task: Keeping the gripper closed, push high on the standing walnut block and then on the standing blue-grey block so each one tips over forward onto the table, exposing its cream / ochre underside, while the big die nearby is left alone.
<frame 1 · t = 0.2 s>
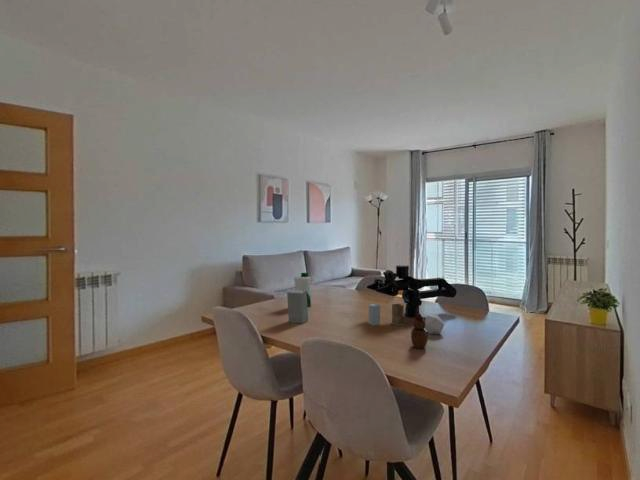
hand: (371, 288, 175), 16 cm above the table, tool horizontal, fingers open, 9 cm apart
walnut block: (397, 323, 169), on the table
die: (433, 333, 155), on the table
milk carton: (302, 307, 205), on the table
skincare box: (297, 322, 174), on the table
wooden figurine: (418, 347, 138), on the table
blue-grey block: (374, 324, 169), on the table
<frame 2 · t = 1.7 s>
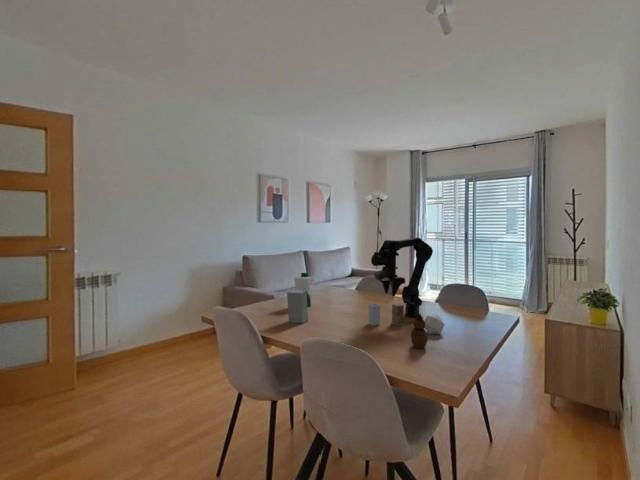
hand: (389, 295, 175), 13 cm above the table, tool pointing down, fingers open, 6 cm apart
nothing on the table moved.
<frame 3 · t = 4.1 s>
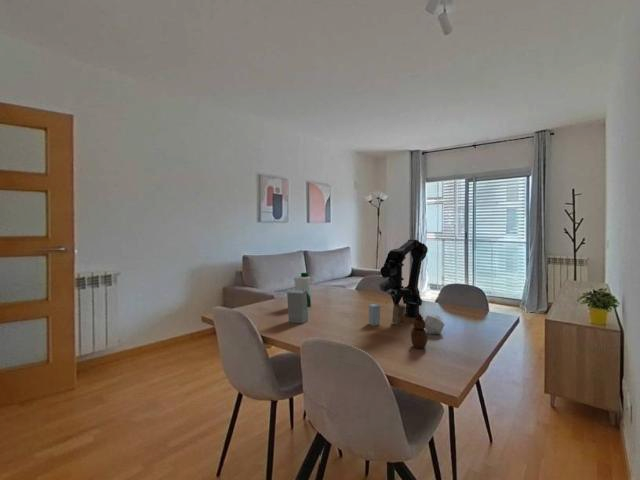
hand: (395, 306, 171), 8 cm above the table, tool pointing down, fingers closed
walnut block: (397, 323, 169), on the table, tilted 9°
everything else where it was.
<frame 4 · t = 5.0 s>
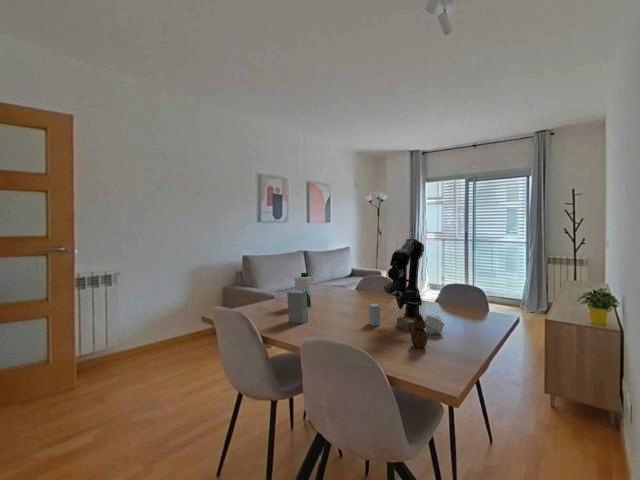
hand: (400, 308, 167), 8 cm above the table, tool pointing down, fingers closed
walnut block: (400, 321, 167), point 2 cm above the table, tilted 90°
everything else where it was.
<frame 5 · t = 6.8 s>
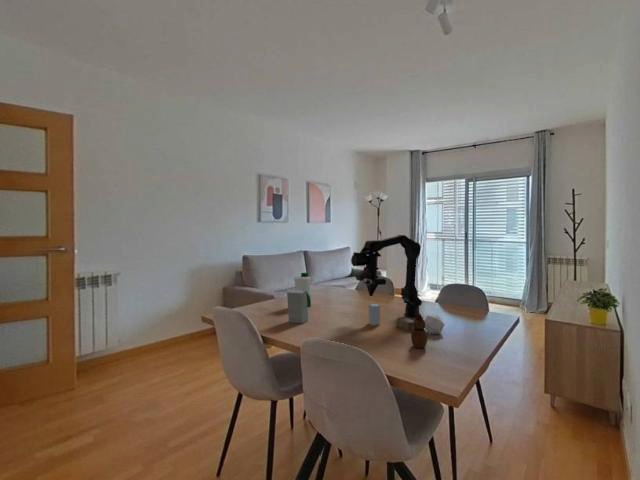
hand: (370, 296, 174), 13 cm above the table, tool pointing down, fingers closed
nothing on the table moved.
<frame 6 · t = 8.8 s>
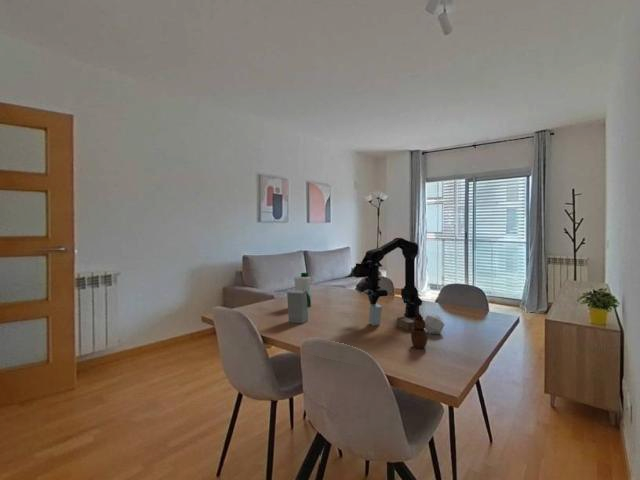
hand: (372, 307, 170), 8 cm above the table, tool pointing down, fingers closed
blue-grey block: (374, 323, 169), on the table, tilted 11°
everything else where it was.
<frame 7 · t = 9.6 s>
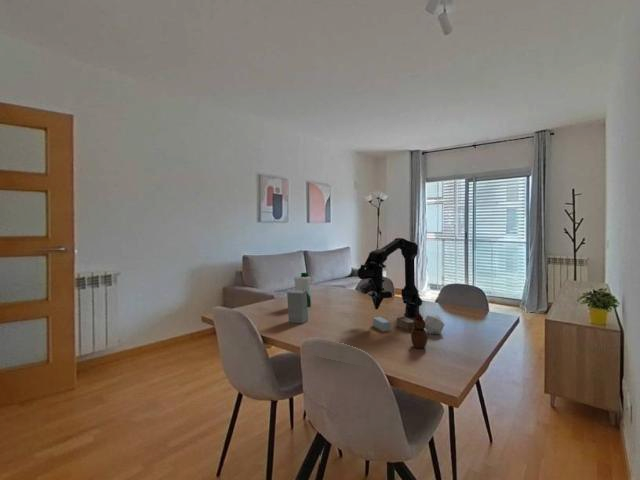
hand: (376, 309, 167), 8 cm above the table, tool pointing down, fingers closed
blue-grey block: (376, 321, 167), point 2 cm above the table, tilted 90°
everything else where it was.
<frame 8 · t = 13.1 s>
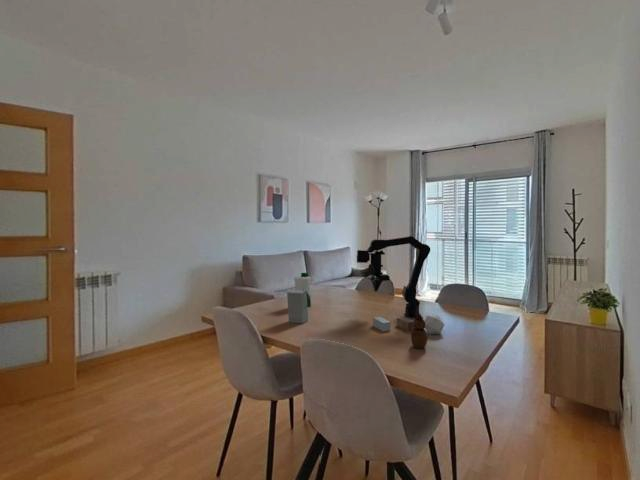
hand: (375, 291, 185), 13 cm above the table, tool pointing down, fingers closed
nothing on the table moved.
at the end: walnut block tilted 90°; blue-grey block tilted 90°; blue-grey block inside the target area (7.0 cm from its centre), point 1.9 cm above the table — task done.
